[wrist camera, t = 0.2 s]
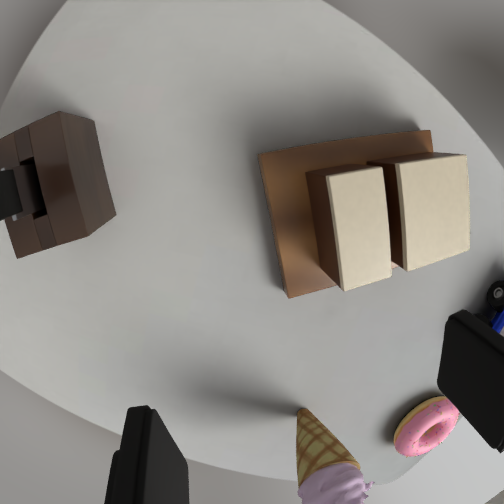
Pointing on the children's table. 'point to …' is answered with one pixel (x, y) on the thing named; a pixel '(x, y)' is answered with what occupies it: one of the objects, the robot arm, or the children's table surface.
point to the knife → (20, 192)
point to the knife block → (59, 181)
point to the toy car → (496, 307)
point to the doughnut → (425, 426)
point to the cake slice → (351, 223)
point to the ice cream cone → (325, 466)
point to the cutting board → (298, 202)
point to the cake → (426, 207)
